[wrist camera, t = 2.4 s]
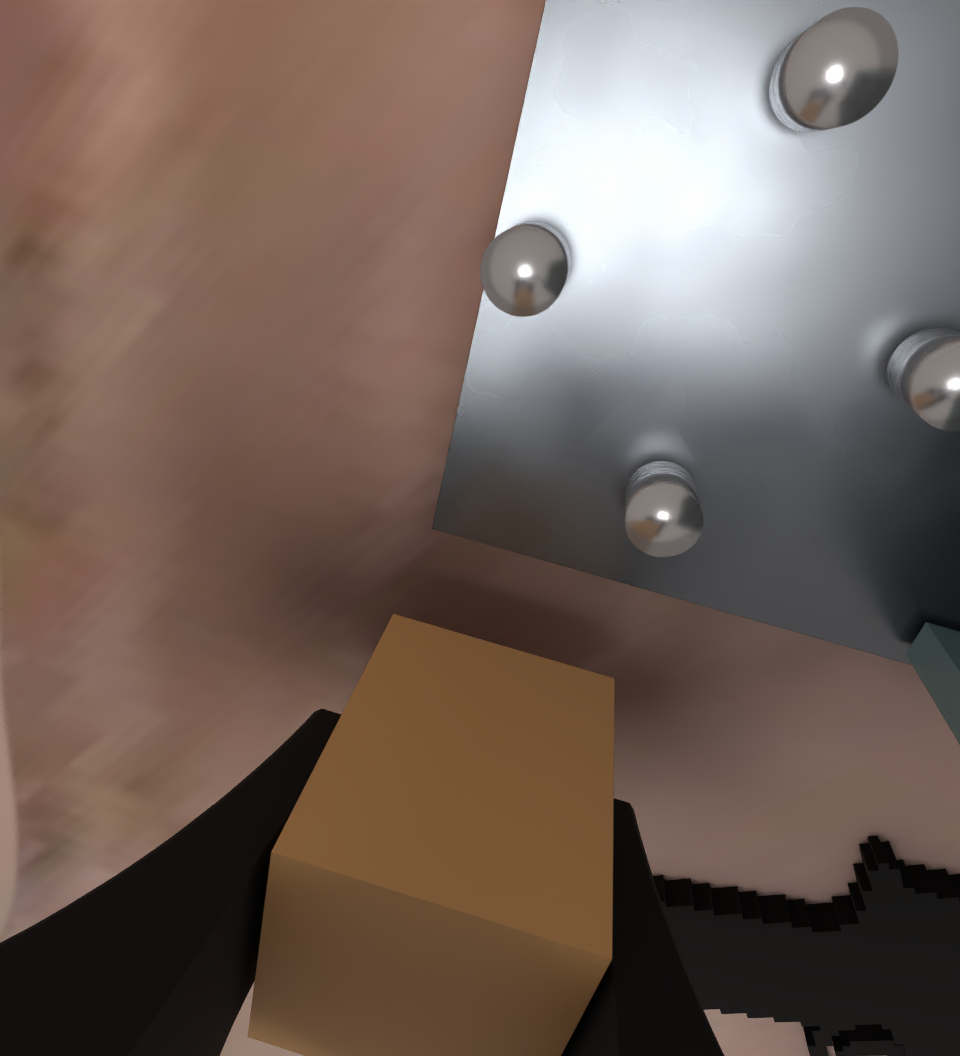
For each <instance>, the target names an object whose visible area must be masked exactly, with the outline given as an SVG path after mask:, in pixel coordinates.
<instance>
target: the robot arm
mask: <svg viewBox="0 0 960 1056" xmlns="http://www.w3.org/2000/svg"><path fill="white" fill-rule="evenodd" d="M340 717H341V714H338V713H334V712H331V711H328V710H325V709H320V710H318V711H315V712H314V713H313V714H312V715H311V716H310V717H309V718H308V719H307V721H306V722H305V723H304V724H303V725H302V726H301V727H300V728H299V729H298V730H297V731H296V732H295V733H294V734H293V735H292V736H291V737H290V738H289V739H288V740H287V741H286V742H285V743H284V744H283V745H281V746H280V747H279V748H278V749H277V750H276V751H275V752H274V753H273V754H272V755H271V756H270V757H269V758H267V759H266V760H265V761H264V762H263V763H262V764H261V765H260V766H259V767H257V768H256V769H255V770H254V771H253V772H252V773H251V774H249V775H248V776H247V777H246V778H245V779H244V780H242V781H241V782H240V783H239V784H238V785H237V786H235V787H234V788H233V789H232V790H231V791H230V792H229V793H227V794H226V795H225V796H224V797H222V798H221V799H220V800H219V801H218V802H216V803H215V804H214V805H212V806H211V807H210V808H209V809H207V810H206V811H205V812H203V813H202V814H201V815H200V816H198V817H197V818H196V819H194V820H193V821H192V822H191V823H189V824H188V825H187V826H185V827H184V828H183V829H182V830H180V831H179V832H178V833H176V834H175V835H174V836H172V837H171V838H169V839H168V840H167V841H165V842H164V843H163V844H161V845H160V846H158V847H157V848H156V849H154V850H153V851H151V852H150V853H148V854H147V855H146V856H144V857H143V858H141V859H140V860H138V861H137V862H135V863H134V864H132V865H131V866H129V867H128V868H126V869H125V870H123V871H122V872H120V873H119V874H117V875H116V876H114V877H113V878H111V879H110V880H108V881H106V882H105V883H103V884H102V885H100V886H98V887H97V888H95V889H93V890H92V891H90V892H89V893H87V894H85V895H84V896H82V897H81V898H79V899H77V900H76V901H74V902H72V903H71V904H69V905H68V906H66V907H64V908H63V909H61V910H59V911H57V912H56V913H54V914H52V915H51V916H49V917H47V918H45V919H44V920H42V921H40V922H38V923H37V924H35V925H33V926H31V927H29V928H27V929H26V930H24V931H22V932H20V933H18V934H16V935H14V936H12V937H11V938H9V939H7V940H5V941H3V942H1V943H0V1056H220V1053H221V1051H222V1049H223V1046H224V1044H225V1042H226V1039H227V1037H228V1035H229V1032H230V1030H231V1028H232V1025H233V1023H234V1021H235V1019H236V1017H237V1015H238V1013H239V1011H240V1009H241V1007H242V1004H243V1002H244V1000H245V998H246V996H247V994H248V992H249V990H250V988H251V986H252V985H253V983H254V981H255V975H256V968H257V960H258V952H259V944H260V936H261V928H262V920H263V913H264V905H265V897H266V889H267V881H268V873H269V866H270V858H271V852H272V850H273V848H274V846H275V844H276V842H277V840H278V838H279V836H280V834H281V832H282V830H283V828H284V826H285V824H286V822H287V820H288V818H289V816H290V814H291V813H292V811H293V809H294V807H295V805H296V803H297V801H298V799H299V797H300V795H301V793H302V791H303V789H304V787H305V785H306V783H307V781H308V779H309V777H310V775H311V773H312V772H313V770H314V768H315V766H316V764H317V762H318V760H319V758H320V756H321V754H322V752H323V750H324V748H325V746H326V744H327V742H328V740H329V738H330V736H331V734H332V732H333V730H334V729H335V727H336V725H337V723H338V721H339V719H340ZM561 1056H724V1054H723V1052H722V1050H721V1048H720V1046H719V1044H718V1041H717V1039H716V1037H715V1035H714V1033H713V1031H712V1028H711V1026H710V1024H709V1022H708V1019H707V1017H706V1015H705V1013H704V1010H703V1008H702V1006H701V1003H700V1001H699V999H698V996H697V994H696V991H695V989H694V987H693V984H692V982H691V980H690V977H689V975H688V972H687V970H686V967H685V965H684V962H683V960H682V957H681V955H680V952H679V949H678V947H677V944H676V941H675V939H674V936H673V933H672V930H671V928H670V925H669V922H668V919H667V917H666V914H665V911H664V908H663V906H662V903H661V900H660V897H659V894H658V891H657V888H656V885H655V882H654V879H653V876H652V872H651V869H650V866H649V863H648V860H647V856H646V853H645V850H644V846H643V843H642V839H641V836H640V832H639V828H638V825H637V821H636V817H635V813H634V810H633V808H632V806H631V805H630V803H627V802H624V801H621V800H618V799H614V798H613V919H612V960H611V962H610V964H609V966H608V968H607V970H606V971H605V973H604V975H603V977H602V979H601V981H600V983H599V985H598V987H597V988H596V990H595V992H594V994H593V996H592V998H591V1000H590V1002H589V1004H588V1005H587V1007H586V1009H585V1011H584V1013H583V1015H582V1017H581V1019H580V1021H579V1023H578V1024H577V1026H576V1028H575V1030H574V1032H573V1034H572V1036H571V1038H570V1040H569V1041H568V1043H567V1045H566V1047H565V1049H564V1051H563V1053H562V1055H561Z"/></svg>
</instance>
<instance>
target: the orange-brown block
mask: <svg viewBox="0 0 960 1056" xmlns="http://www.w3.org/2000/svg"><path fill="white" fill-rule="evenodd" d="M613 795H614V678H612V677H608V676H605V675H601V674H598V673H595V672H591V671H588V670H584V669H581V668H578V667H574V666H571V665H567V664H564V663H560V662H557V661H554V660H550V659H547V658H543V657H540V656H536V655H533V654H530V653H526V652H523V651H519V650H516V649H512V648H509V647H506V646H502V645H499V644H495V643H492V642H488V641H485V640H482V639H478V638H475V637H471V636H468V635H464V634H461V633H458V632H454V631H451V630H447V629H444V628H441V627H437V626H434V625H430V624H427V623H423V622H420V621H417V620H413V619H410V618H406V617H403V616H399V615H396V614H393V615H392V617H391V619H390V621H389V623H388V625H387V627H386V629H385V631H384V633H383V635H382V637H381V639H380V641H379V643H378V645H377V647H376V648H375V650H374V652H373V654H372V656H371V658H370V660H369V662H368V664H367V666H366V668H365V670H364V672H363V674H362V676H361V678H360V680H359V682H358V684H357V686H356V688H355V689H354V691H353V693H352V695H351V697H350V699H349V701H348V703H347V705H346V707H345V709H344V711H343V713H342V715H341V717H340V719H339V721H338V723H337V725H336V727H335V729H334V730H333V732H332V734H331V736H330V738H329V740H328V742H327V744H326V746H325V748H324V750H323V752H322V754H321V756H320V758H319V760H318V762H317V764H316V766H315V768H314V770H313V772H312V773H311V775H310V777H309V779H308V781H307V783H306V785H305V787H304V789H303V791H302V793H301V795H300V797H299V799H298V801H297V803H296V805H295V807H294V809H293V811H292V813H291V814H290V816H289V818H288V820H287V822H286V824H285V826H284V828H283V830H282V832H281V834H280V836H279V838H278V840H277V842H276V844H275V846H274V848H273V850H272V852H271V858H270V866H269V873H268V881H267V889H266V897H265V905H264V913H263V920H262V928H261V936H260V944H259V952H258V960H257V968H256V975H255V983H254V991H253V999H252V1007H251V1015H250V1022H249V1030H248V1037H250V1038H253V1039H256V1040H259V1041H262V1042H265V1043H268V1044H271V1045H274V1046H277V1047H280V1048H283V1049H286V1050H289V1051H292V1052H296V1053H299V1054H302V1055H305V1056H561V1055H562V1053H563V1051H564V1049H565V1047H566V1045H567V1043H568V1041H569V1040H570V1038H571V1036H572V1034H573V1032H574V1030H575V1028H576V1026H577V1024H578V1023H579V1021H580V1019H581V1017H582V1015H583V1013H584V1011H585V1009H586V1007H587V1005H588V1004H589V1002H590V1000H591V998H592V996H593V994H594V992H595V990H596V988H597V987H598V985H599V983H600V981H601V979H602V977H603V975H604V973H605V971H606V970H607V968H608V966H609V964H610V962H611V960H612V919H613Z"/></svg>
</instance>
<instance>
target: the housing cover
mask: <svg viewBox="0 0 960 1056" xmlns="http://www.w3.org/2000/svg"><path fill="white" fill-rule="evenodd" d="M906 655H907V656H908V658H909V660H910V661H911V663H912V665H913V667H914V668H915V670H916V672H917V673H918V675H919V677H920V678H921V680H922V682H923V683H924V685H925V687H926V688H927V690H928V692H929V693H930V695H931V697H932V699H933V700H934V702H935V704H936V705H937V707H938V709H939V710H940V712H941V714H942V715H943V717H944V719H945V720H946V722H947V724H948V725H949V727H950V729H951V731H952V732H953V734H954V736H955V737H956V739H957V741H958V742H959V744H960V632H959V631H956V630H952V629H949V628H945V627H941V626H938V625H934V624H931V623H927V622H926V623H925V624H924V626H923V628H922V629H921V631H920V632H919V634H918V635H917V637H916V638H915V640H914V642H913V643H912V645H911V646H910V648H909V649H908V651H907V653H906Z"/></svg>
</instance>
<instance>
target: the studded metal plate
mask: <svg viewBox="0 0 960 1056" xmlns="http://www.w3.org/2000/svg"><path fill="white" fill-rule="evenodd" d="M480 274H481V282H482V286H483V289H484V290H483V295H482V299H481V304H480V309H479V313H478V318H477V322H476V327H475V332H474V336H473V341H472V346H471V350H470V355H469V359H468V364H467V369H466V373H465V378H464V383H463V387H462V392H461V396H460V401H459V406H458V410H457V415H456V420H455V424H454V429H453V433H452V438H451V443H450V447H449V452H448V457H447V461H446V466H445V470H444V475H443V480H442V484H441V489H440V494H439V498H438V503H437V507H436V512H435V517H434V521H433V526H432V529H435V530H439V531H442V532H446V533H449V534H453V535H456V536H460V537H463V538H467V539H470V540H474V541H477V542H481V543H484V544H488V545H491V546H495V547H498V548H502V549H505V550H509V551H512V552H516V553H519V554H523V555H526V556H530V557H534V558H537V559H541V560H544V561H548V562H551V563H555V564H558V565H562V566H565V567H569V568H572V569H576V570H579V571H583V572H586V573H590V574H593V575H597V576H600V577H604V578H607V579H611V580H614V581H618V582H621V583H625V584H629V585H632V586H636V587H639V588H643V589H646V590H650V591H653V592H657V593H660V594H664V595H667V596H671V597H674V598H678V599H681V600H685V601H688V602H692V603H695V604H699V605H702V606H706V607H709V608H713V609H716V610H720V611H724V612H727V613H731V614H734V615H738V616H741V617H745V618H748V619H752V620H755V621H759V622H762V623H766V624H769V625H773V626H776V627H780V628H783V629H787V630H790V631H794V632H797V633H801V634H804V635H808V636H811V637H815V638H819V639H822V640H826V641H829V642H833V643H836V644H840V645H843V646H847V647H850V648H854V649H857V650H861V651H864V652H868V653H871V654H875V655H878V656H882V657H885V658H889V659H892V660H896V661H899V662H903V663H906V664H910V665H912V663H911V661H910V660H909V658H908V656H907V655H906V653H907V651H908V649H909V648H910V646H911V645H912V643H913V642H914V640H915V638H916V637H917V635H918V634H919V632H920V631H921V629H922V628H923V626H924V624H925V623H926V622H927V623H931V624H934V625H938V626H941V627H945V628H949V629H952V630H956V631H959V632H960V0H546V3H545V8H544V13H543V17H542V22H541V26H540V31H539V36H538V40H537V45H536V50H535V54H534V59H533V63H532V68H531V73H530V77H529V82H528V87H527V91H526V96H525V100H524V105H523V110H522V114H521V119H520V124H519V128H518V133H517V137H516V142H515V147H514V151H513V156H512V161H511V165H510V170H509V174H508V179H507V184H506V188H505V193H504V198H503V202H502V207H501V211H500V216H499V221H498V225H497V230H496V235H495V238H494V239H493V240H492V241H491V243H490V244H489V245H488V247H487V249H486V251H485V253H484V255H483V258H482V262H481V271H480Z"/></svg>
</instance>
